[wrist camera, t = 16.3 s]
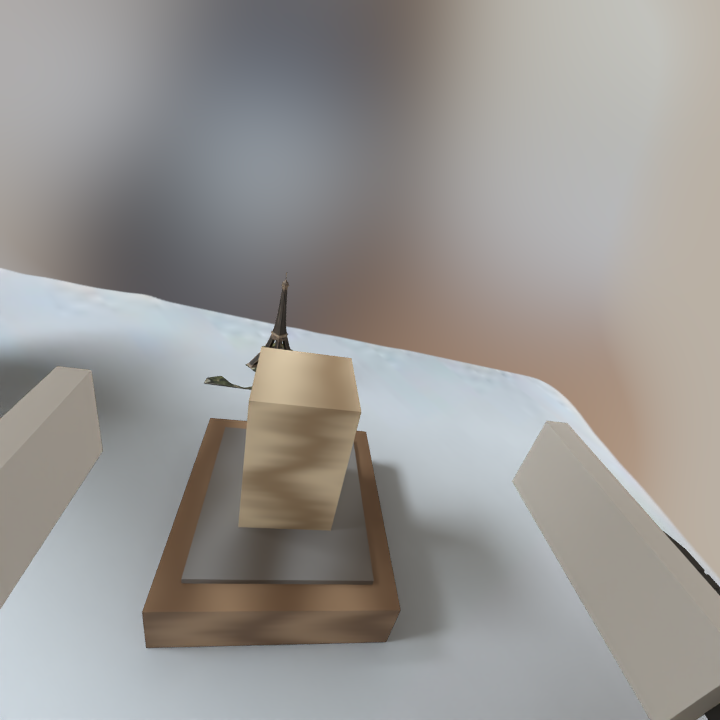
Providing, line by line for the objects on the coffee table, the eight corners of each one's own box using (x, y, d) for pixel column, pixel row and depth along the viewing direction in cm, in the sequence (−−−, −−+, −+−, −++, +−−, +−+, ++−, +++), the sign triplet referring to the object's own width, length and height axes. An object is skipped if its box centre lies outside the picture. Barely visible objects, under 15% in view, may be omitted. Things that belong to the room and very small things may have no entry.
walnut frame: (146, 647, 22) (141, 607, 20) (209, 449, 35) (210, 414, 33) (386, 641, 24) (402, 606, 22) (358, 459, 38) (366, 428, 36)
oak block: (238, 527, 25) (249, 400, 20) (250, 459, 30) (261, 346, 25) (330, 530, 26) (361, 412, 21) (327, 465, 31) (351, 358, 26)
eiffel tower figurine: (201, 388, 44) (202, 275, 38) (221, 347, 53) (225, 249, 46) (331, 403, 46) (353, 300, 40) (330, 362, 55) (347, 271, 49)
